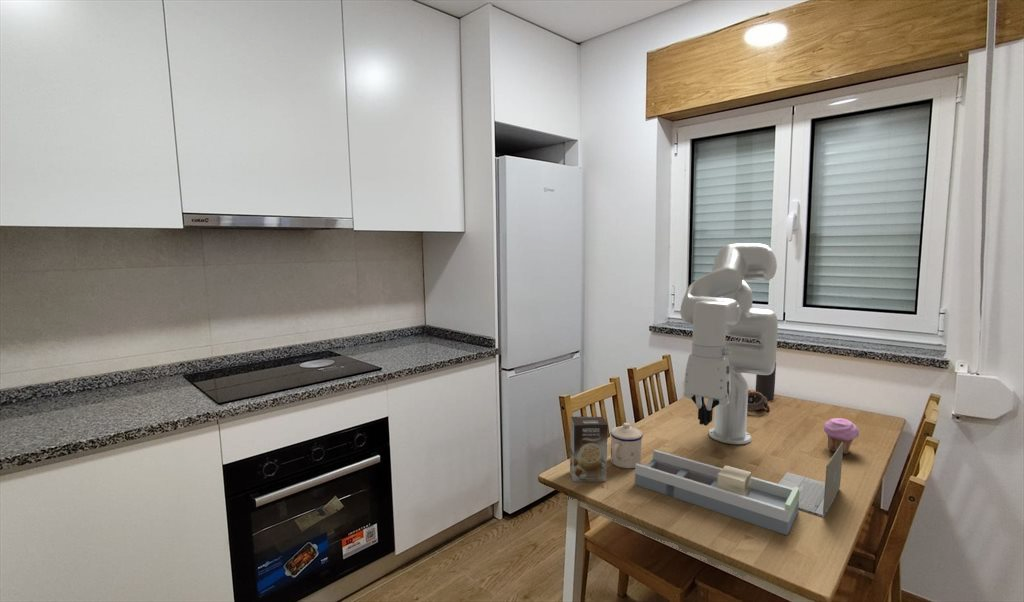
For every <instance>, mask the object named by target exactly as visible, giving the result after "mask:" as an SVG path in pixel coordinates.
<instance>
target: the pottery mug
mask: <svg viewBox="0 0 1024 602" xmlns="http://www.w3.org/2000/svg"><path fill="white" fill-rule="evenodd" d="M756 396H757V397H756ZM760 409H764V410H765V409H766V410H767V412H770V411H771V407H770V406H769V400H767V398H766V397H764V396H763V395H762V394H761V393H759V392H755V391H750V390H748V405H747V411H758V410H760Z"/></svg>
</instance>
